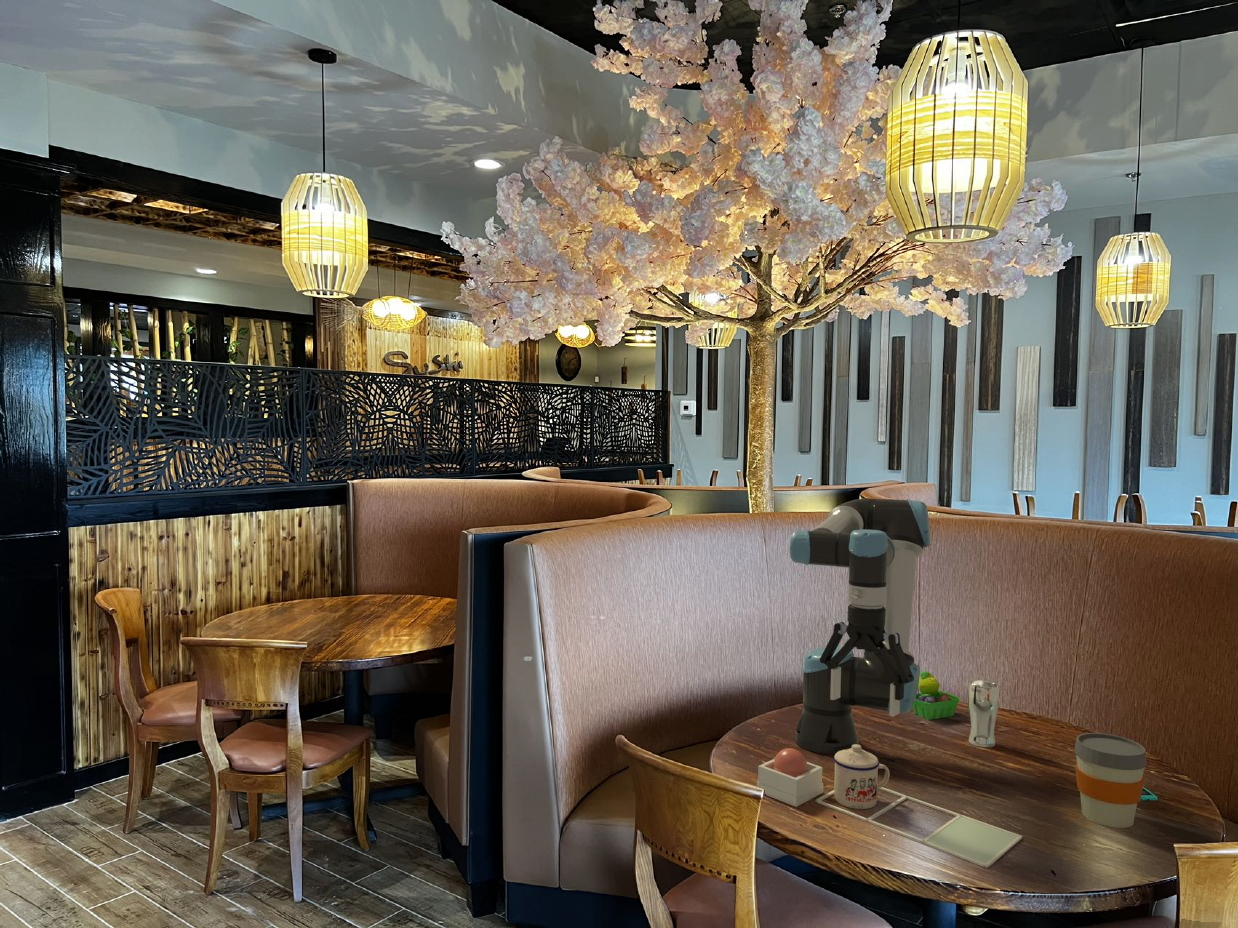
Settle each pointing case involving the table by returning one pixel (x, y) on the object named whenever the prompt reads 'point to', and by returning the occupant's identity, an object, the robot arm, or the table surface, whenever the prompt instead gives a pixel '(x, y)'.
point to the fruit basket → (933, 699)
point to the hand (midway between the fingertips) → (864, 706)
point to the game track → (952, 833)
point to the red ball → (790, 762)
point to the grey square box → (790, 784)
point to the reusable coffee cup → (1109, 777)
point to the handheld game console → (1147, 795)
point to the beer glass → (982, 712)
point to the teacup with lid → (857, 778)
